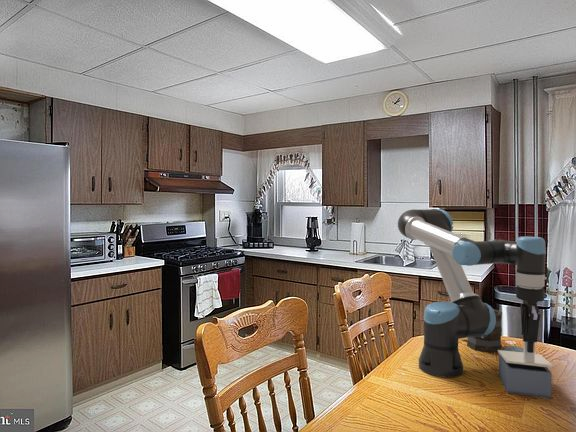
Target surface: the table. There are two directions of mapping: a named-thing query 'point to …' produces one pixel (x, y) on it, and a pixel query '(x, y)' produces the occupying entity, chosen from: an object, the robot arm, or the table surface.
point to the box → (525, 379)
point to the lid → (518, 359)
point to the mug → (488, 338)
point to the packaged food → (513, 349)
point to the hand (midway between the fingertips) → (528, 361)
